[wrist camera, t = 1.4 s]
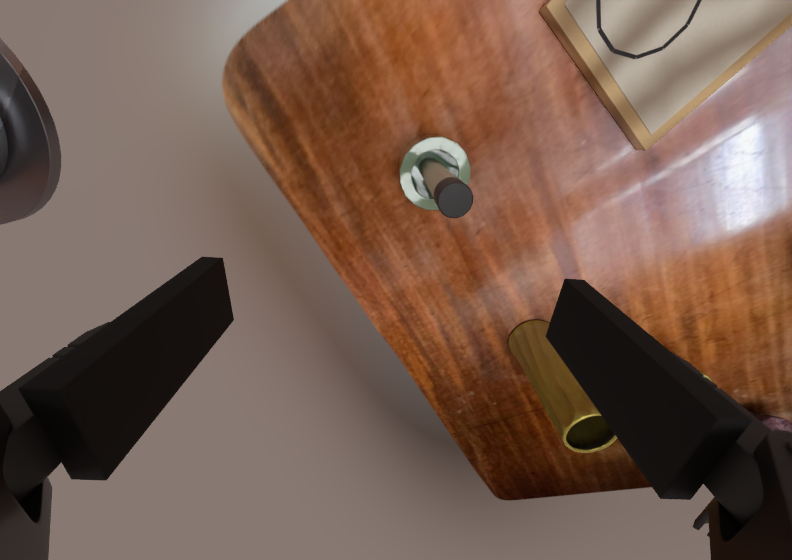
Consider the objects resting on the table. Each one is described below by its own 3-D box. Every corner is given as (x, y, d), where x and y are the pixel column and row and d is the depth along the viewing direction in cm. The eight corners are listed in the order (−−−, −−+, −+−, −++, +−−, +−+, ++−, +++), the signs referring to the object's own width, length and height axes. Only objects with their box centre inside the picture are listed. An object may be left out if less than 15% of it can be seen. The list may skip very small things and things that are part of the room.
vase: (562, 321, 41) (639, 413, 28) (545, 359, 44) (609, 458, 31) (515, 316, 41) (572, 407, 28) (502, 355, 43) (548, 454, 31)
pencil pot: (386, 168, 33) (385, 177, 28) (428, 119, 31) (435, 119, 26) (428, 208, 34) (434, 223, 30) (470, 165, 33) (485, 173, 28)
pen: (414, 168, 32) (430, 201, 19) (429, 151, 31) (456, 174, 18) (429, 183, 33) (454, 225, 20) (444, 167, 32) (480, 199, 19)
